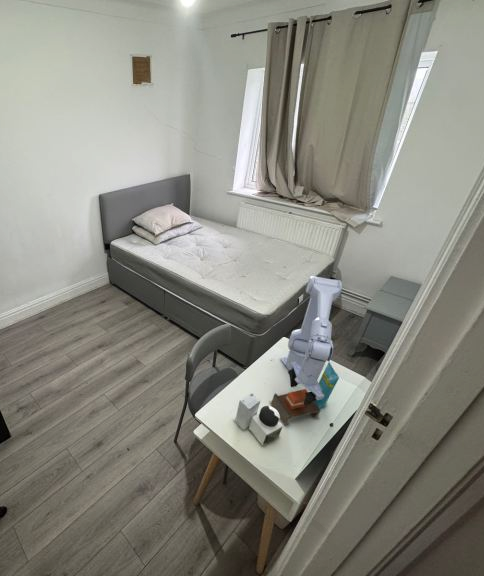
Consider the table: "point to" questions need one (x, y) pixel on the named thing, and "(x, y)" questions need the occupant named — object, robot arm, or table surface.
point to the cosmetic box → (247, 410)
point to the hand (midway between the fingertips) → (299, 394)
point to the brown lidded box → (288, 413)
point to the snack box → (296, 399)
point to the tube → (327, 384)
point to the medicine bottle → (266, 425)
